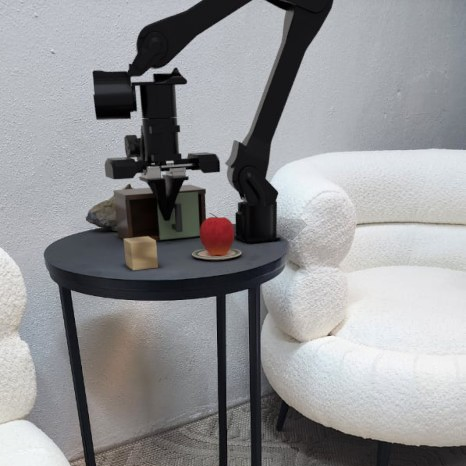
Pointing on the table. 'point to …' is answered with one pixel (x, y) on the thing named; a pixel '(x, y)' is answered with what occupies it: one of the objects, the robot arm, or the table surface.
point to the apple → (216, 239)
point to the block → (140, 253)
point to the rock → (105, 213)
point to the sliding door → (181, 218)
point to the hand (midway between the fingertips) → (166, 220)
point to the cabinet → (146, 211)
